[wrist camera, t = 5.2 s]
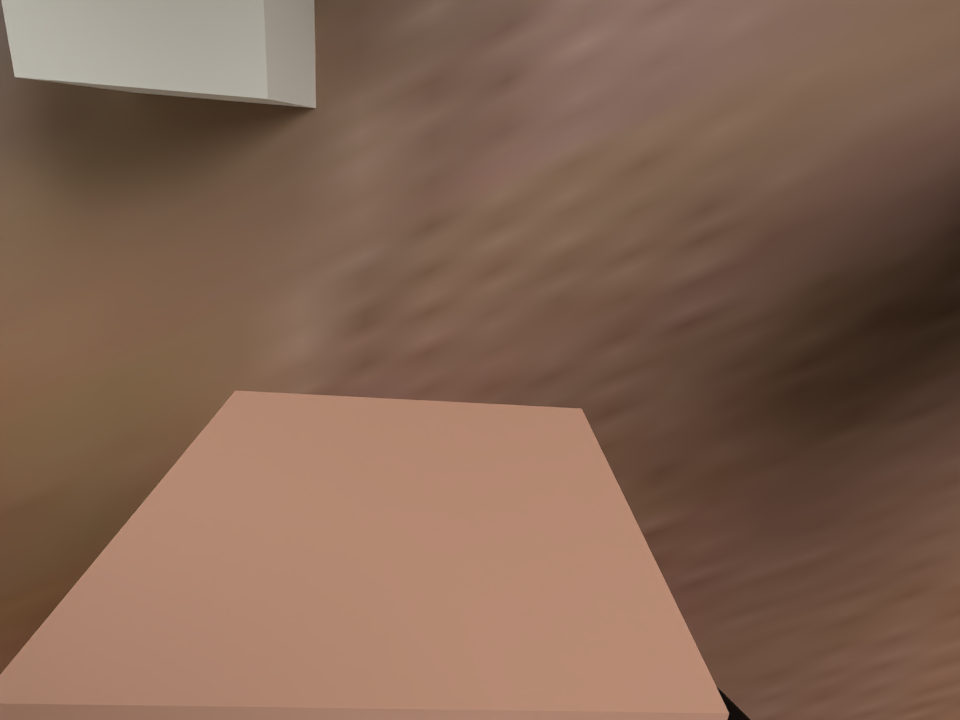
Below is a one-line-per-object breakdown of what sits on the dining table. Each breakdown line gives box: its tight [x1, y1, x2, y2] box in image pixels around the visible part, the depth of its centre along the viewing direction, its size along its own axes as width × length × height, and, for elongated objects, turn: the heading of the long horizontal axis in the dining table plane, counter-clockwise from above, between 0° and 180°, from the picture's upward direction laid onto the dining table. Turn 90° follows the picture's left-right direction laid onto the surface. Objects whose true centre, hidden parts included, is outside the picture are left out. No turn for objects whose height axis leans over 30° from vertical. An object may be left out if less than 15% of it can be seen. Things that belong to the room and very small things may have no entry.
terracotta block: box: [0, 391, 729, 720], centre depth 7 cm, size 5×5×5 cm
